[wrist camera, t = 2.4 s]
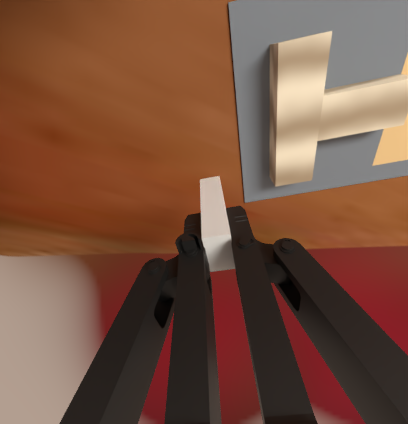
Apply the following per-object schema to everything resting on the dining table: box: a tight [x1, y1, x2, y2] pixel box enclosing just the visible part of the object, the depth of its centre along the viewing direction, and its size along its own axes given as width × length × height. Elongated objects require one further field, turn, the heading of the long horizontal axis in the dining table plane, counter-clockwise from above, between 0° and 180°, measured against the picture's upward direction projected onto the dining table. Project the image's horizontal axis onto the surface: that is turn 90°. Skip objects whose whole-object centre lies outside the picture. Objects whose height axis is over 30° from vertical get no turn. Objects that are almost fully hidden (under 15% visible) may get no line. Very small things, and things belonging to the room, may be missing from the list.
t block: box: [269, 31, 408, 187], centre depth 25 cm, size 16×15×3 cm
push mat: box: [228, 0, 408, 203], centre depth 26 cm, size 24×36×1 cm, turn 100°
